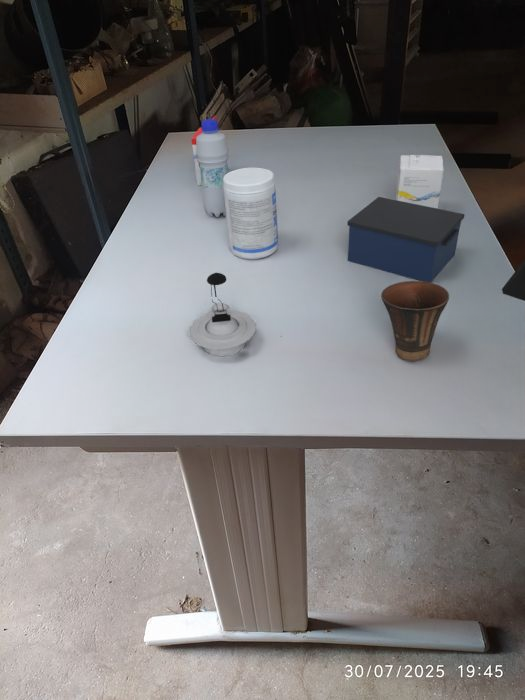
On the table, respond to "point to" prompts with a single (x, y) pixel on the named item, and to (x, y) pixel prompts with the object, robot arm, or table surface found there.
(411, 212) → the storage box
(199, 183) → the spray bottle
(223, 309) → the round stand with stem
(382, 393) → the table surface
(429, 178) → the ink box
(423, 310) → the cup
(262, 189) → the supplement tub
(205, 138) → the bottle
